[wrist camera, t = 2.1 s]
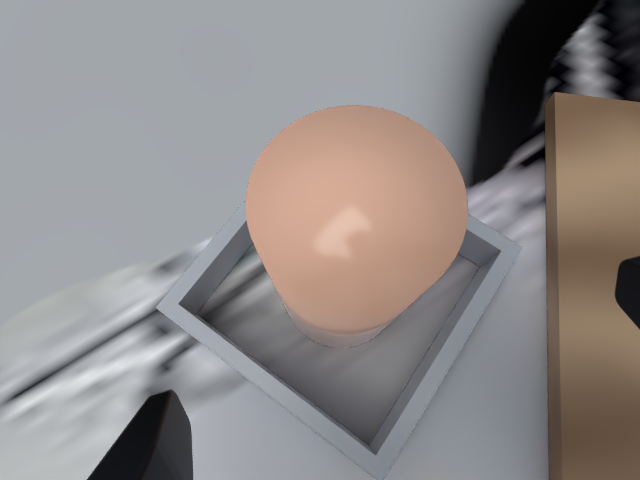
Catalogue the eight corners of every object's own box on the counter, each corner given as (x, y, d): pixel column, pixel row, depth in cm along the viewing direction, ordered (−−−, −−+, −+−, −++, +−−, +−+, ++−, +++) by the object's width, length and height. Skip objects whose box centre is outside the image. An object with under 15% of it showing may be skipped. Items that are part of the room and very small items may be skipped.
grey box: (498, 263, 20) (522, 247, 17) (372, 469, 17) (380, 483, 15) (314, 147, 22) (312, 118, 19) (176, 317, 19) (155, 307, 17)
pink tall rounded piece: (390, 356, 18) (462, 327, 9) (274, 338, 19) (223, 292, 9) (401, 244, 20) (472, 118, 11) (293, 229, 20) (267, 93, 11)
